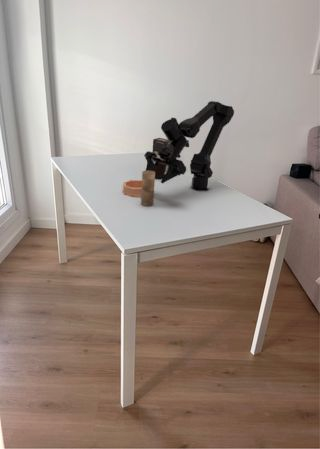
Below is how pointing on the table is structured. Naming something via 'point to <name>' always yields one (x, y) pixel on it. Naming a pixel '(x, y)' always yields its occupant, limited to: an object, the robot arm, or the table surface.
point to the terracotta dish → (132, 188)
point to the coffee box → (162, 141)
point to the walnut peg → (147, 188)
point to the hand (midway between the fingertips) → (153, 179)
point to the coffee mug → (160, 170)
